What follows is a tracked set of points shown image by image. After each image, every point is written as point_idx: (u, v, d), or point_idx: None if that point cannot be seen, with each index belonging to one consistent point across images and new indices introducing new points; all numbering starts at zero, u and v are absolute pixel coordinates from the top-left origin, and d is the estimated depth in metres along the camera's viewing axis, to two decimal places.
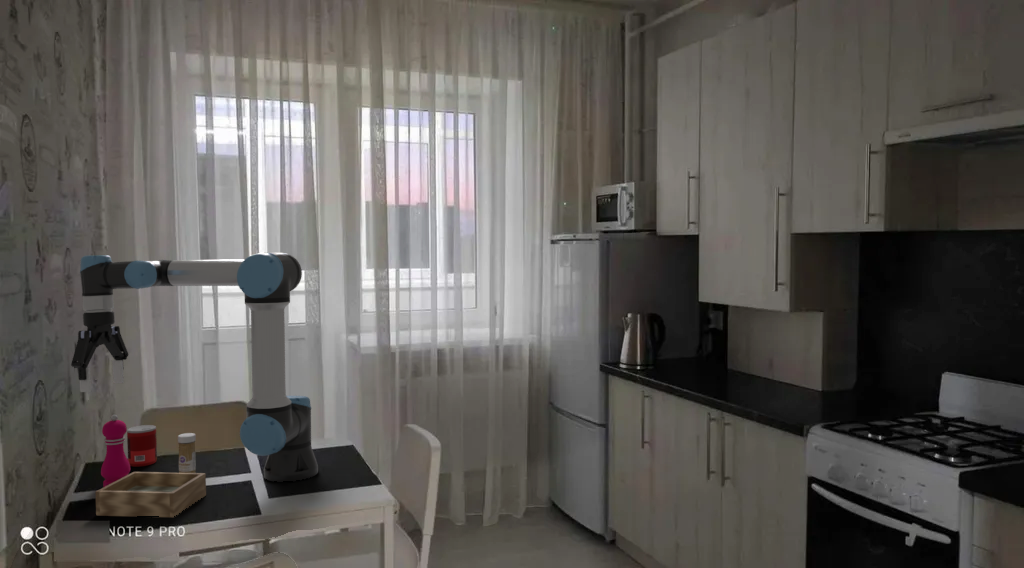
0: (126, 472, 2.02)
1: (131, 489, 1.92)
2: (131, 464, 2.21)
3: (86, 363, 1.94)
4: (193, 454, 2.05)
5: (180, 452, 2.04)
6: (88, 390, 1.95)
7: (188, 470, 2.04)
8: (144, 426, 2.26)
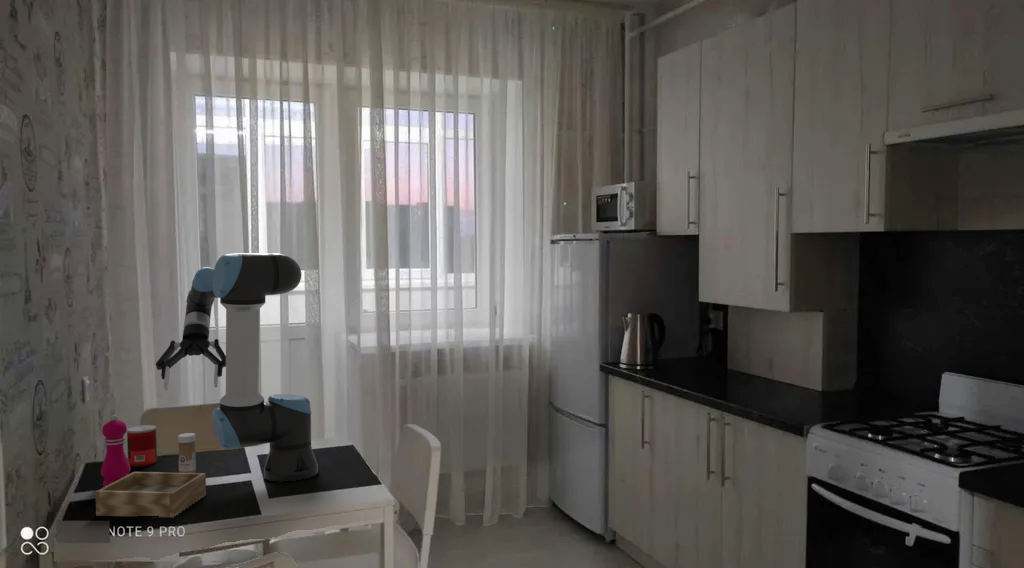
0: (126, 472, 2.02)
1: (131, 489, 1.92)
2: (131, 464, 2.21)
3: (165, 363, 2.17)
4: (193, 454, 2.05)
5: (180, 452, 2.04)
6: None
7: (188, 470, 2.04)
8: (144, 426, 2.26)
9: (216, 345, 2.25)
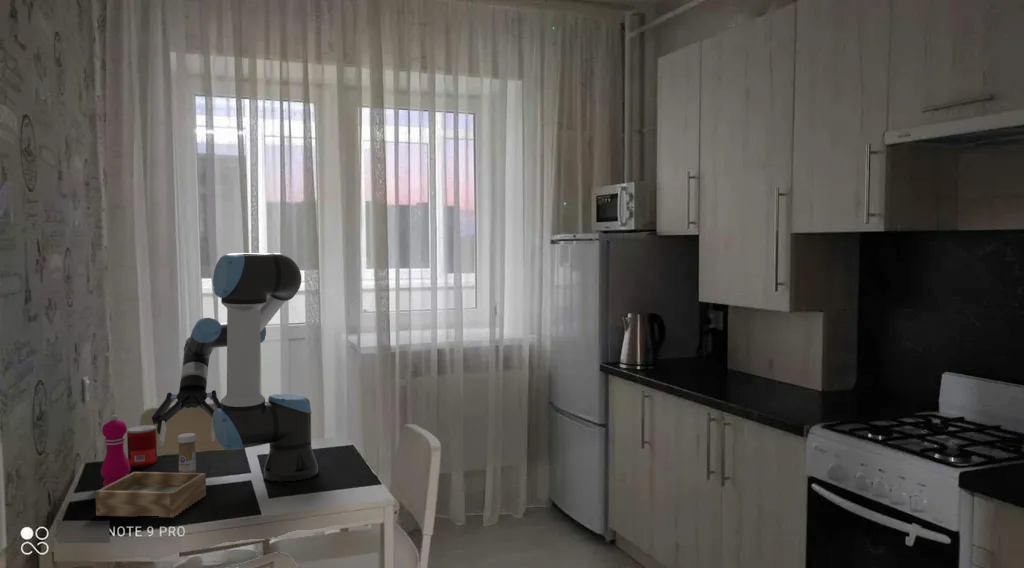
0: (126, 472, 2.02)
1: (131, 489, 1.92)
2: (131, 464, 2.21)
3: (161, 417, 2.12)
4: (193, 454, 2.05)
5: (180, 452, 2.04)
6: None
7: (188, 470, 2.04)
8: (144, 426, 2.26)
9: (213, 397, 2.20)
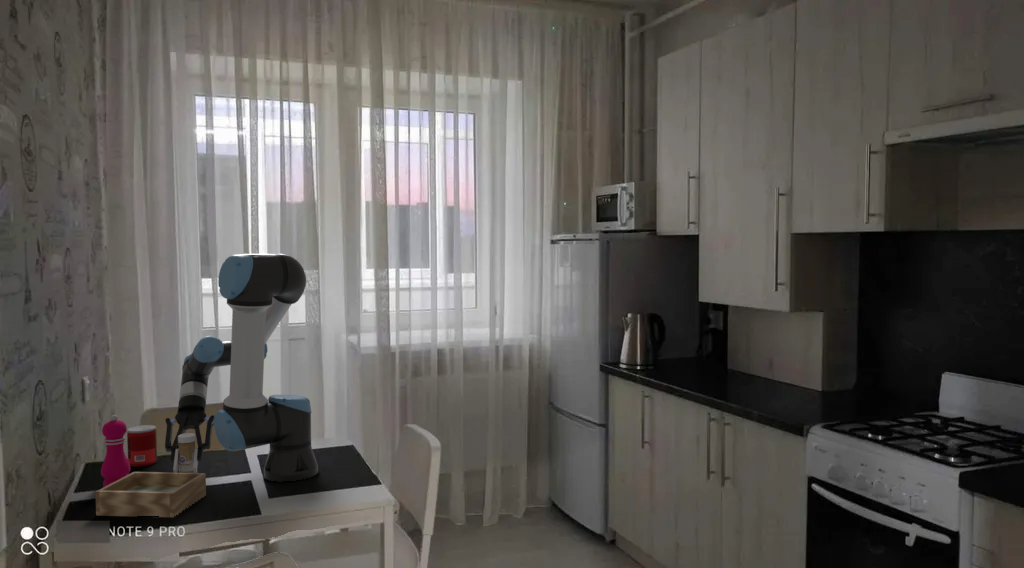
0: (126, 472, 2.02)
1: (131, 489, 1.92)
2: (131, 464, 2.21)
3: (173, 445, 2.06)
4: (193, 454, 2.05)
5: (180, 452, 2.04)
6: (173, 469, 2.01)
7: (188, 470, 2.04)
8: (144, 426, 2.26)
9: (208, 422, 2.12)
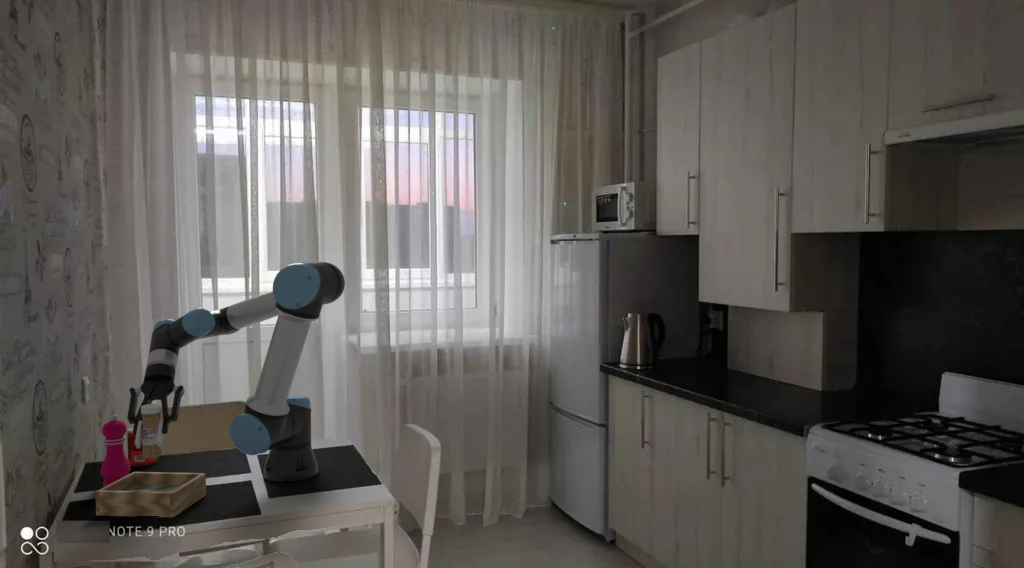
0: (126, 472, 2.02)
1: (131, 489, 1.92)
2: (131, 464, 2.21)
3: (137, 417, 1.89)
4: (158, 426, 1.88)
5: (143, 424, 1.87)
6: (135, 442, 1.84)
7: (152, 444, 1.87)
8: None
9: (176, 393, 1.95)
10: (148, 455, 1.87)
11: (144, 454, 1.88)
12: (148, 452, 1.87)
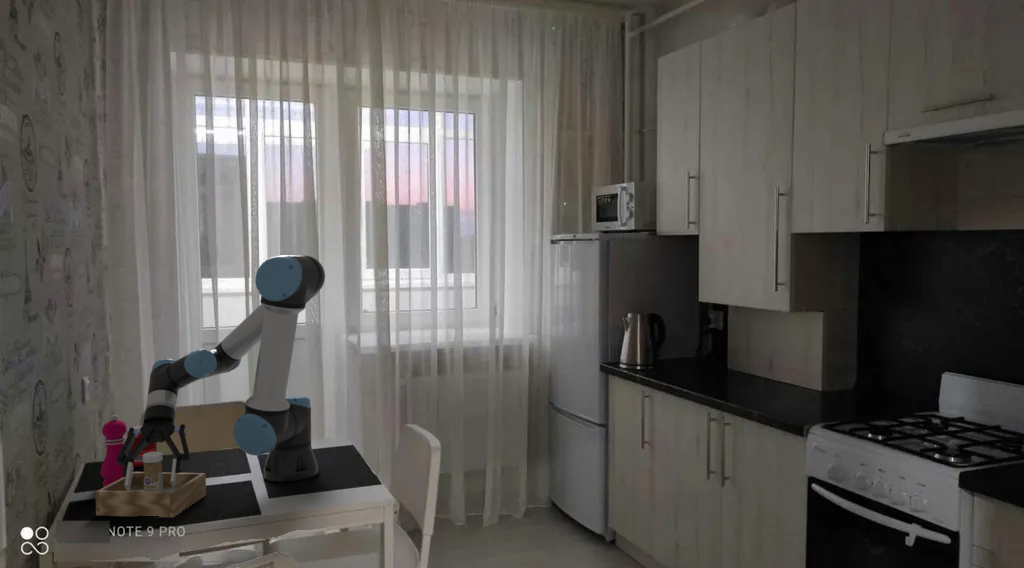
0: None
1: (131, 489, 1.92)
2: None
3: (127, 458, 1.87)
4: (160, 475, 1.87)
5: (145, 473, 1.85)
6: None
7: None
8: None
9: (180, 432, 1.94)
10: None
11: None
12: None
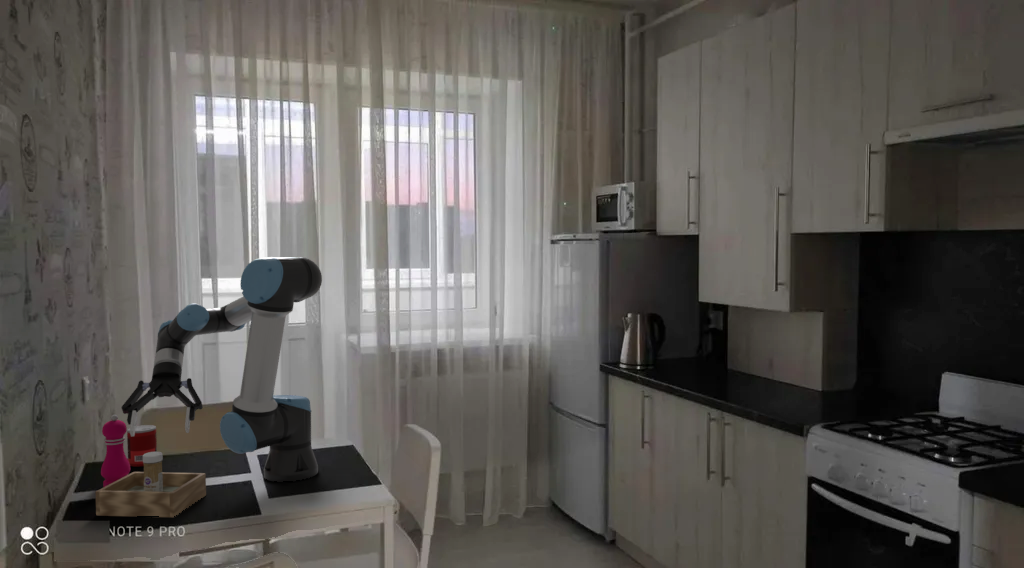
0: (126, 472, 2.02)
1: (131, 489, 1.92)
2: (131, 464, 2.21)
3: (131, 407, 1.99)
4: (160, 475, 1.87)
5: (145, 473, 1.85)
6: (129, 430, 1.94)
7: None
8: (144, 426, 2.26)
9: (189, 385, 2.06)
10: None
11: None
12: None
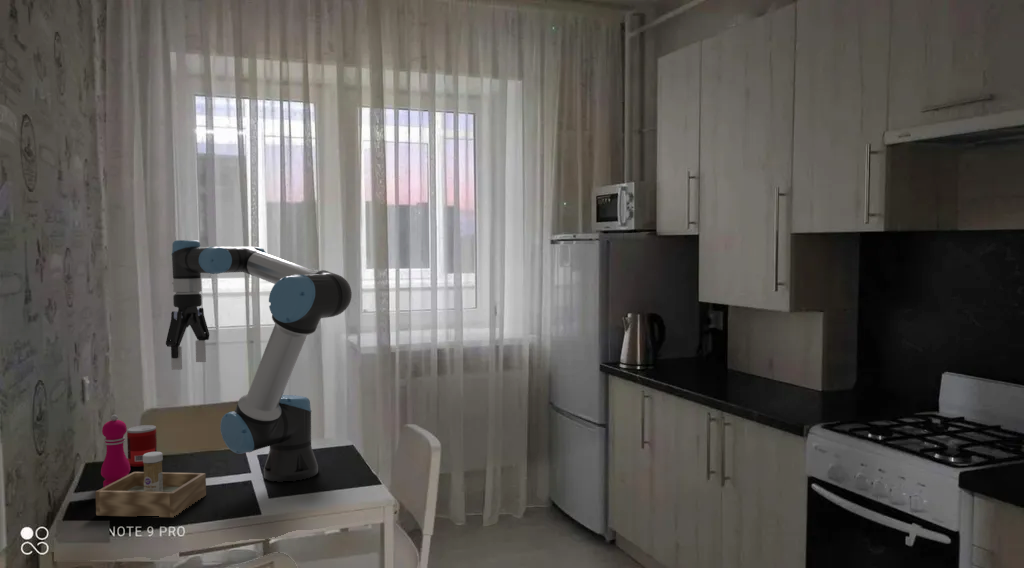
0: (126, 472, 2.02)
1: (131, 489, 1.92)
2: (131, 464, 2.21)
3: (178, 342, 2.05)
4: (160, 475, 1.87)
5: (145, 473, 1.85)
6: (179, 368, 2.06)
7: None
8: (144, 426, 2.26)
9: (202, 316, 2.19)
10: None
11: None
12: None
